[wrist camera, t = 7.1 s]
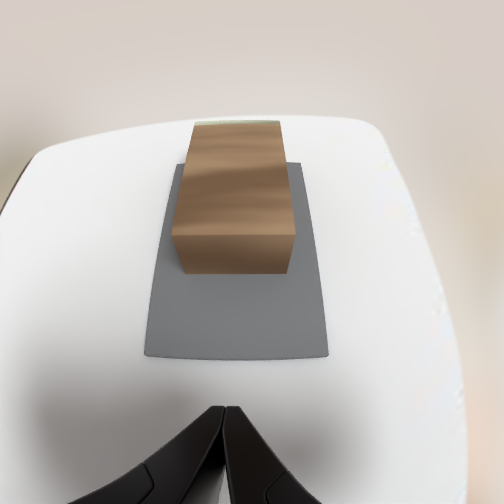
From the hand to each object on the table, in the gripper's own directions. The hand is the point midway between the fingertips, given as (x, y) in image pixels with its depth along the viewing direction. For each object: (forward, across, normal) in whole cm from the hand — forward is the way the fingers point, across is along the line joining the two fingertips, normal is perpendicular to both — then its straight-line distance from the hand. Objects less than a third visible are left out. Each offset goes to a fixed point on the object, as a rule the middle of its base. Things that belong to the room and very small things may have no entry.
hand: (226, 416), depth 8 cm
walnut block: (+9, 0, +3) cm, 9 cm away
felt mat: (+12, 0, +3) cm, 13 cm away
